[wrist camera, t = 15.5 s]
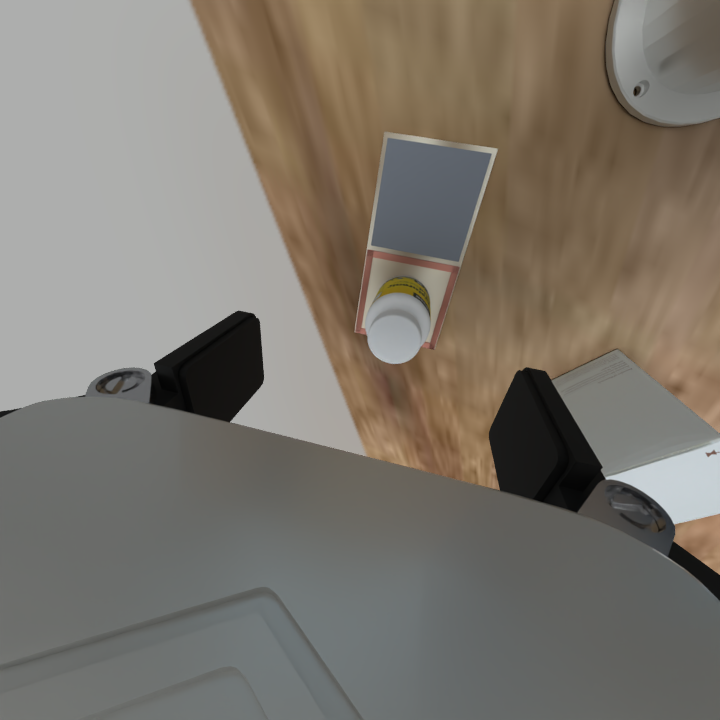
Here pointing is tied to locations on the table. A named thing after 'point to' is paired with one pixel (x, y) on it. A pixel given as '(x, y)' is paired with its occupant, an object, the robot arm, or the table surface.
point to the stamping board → (415, 255)
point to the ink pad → (427, 198)
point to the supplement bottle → (398, 320)
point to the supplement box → (645, 435)
